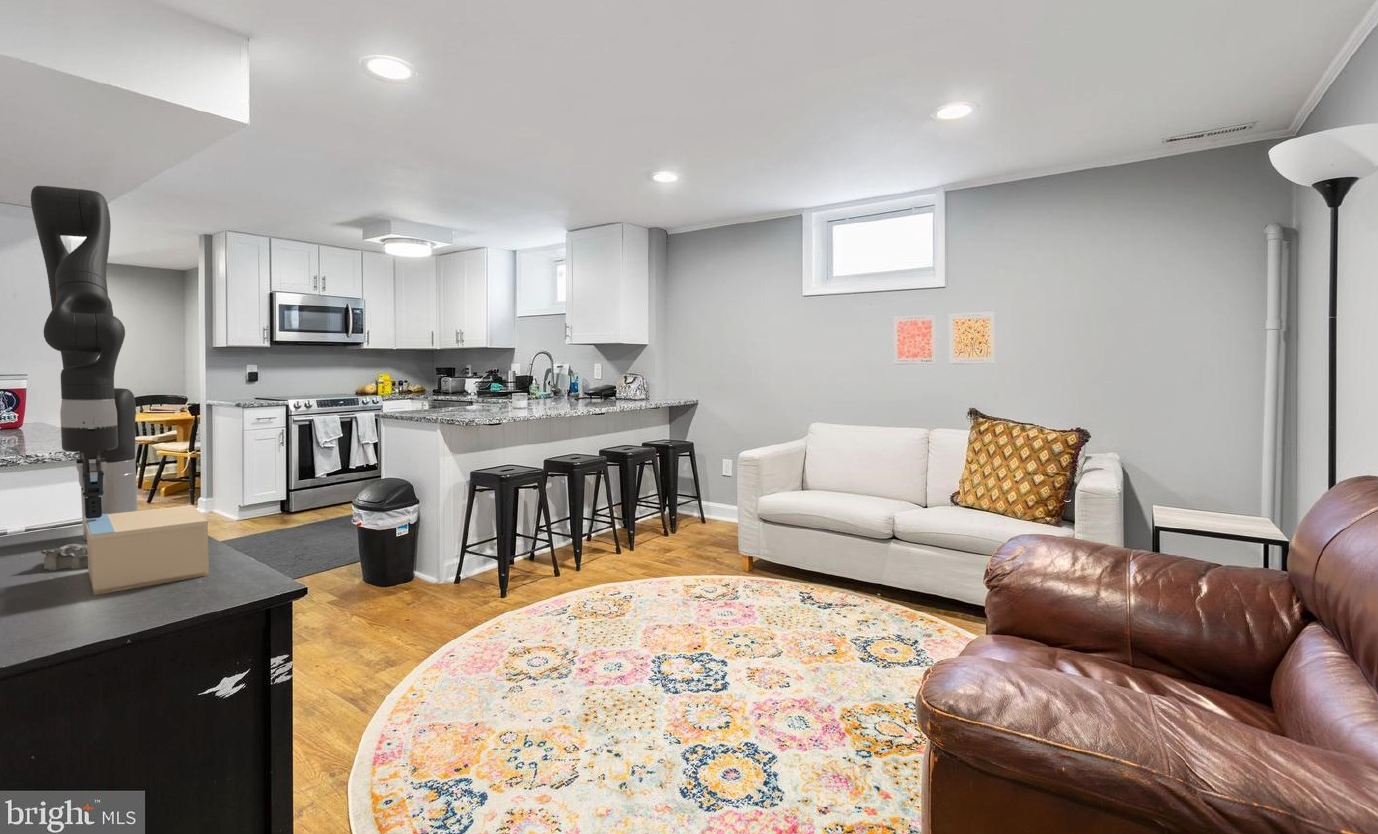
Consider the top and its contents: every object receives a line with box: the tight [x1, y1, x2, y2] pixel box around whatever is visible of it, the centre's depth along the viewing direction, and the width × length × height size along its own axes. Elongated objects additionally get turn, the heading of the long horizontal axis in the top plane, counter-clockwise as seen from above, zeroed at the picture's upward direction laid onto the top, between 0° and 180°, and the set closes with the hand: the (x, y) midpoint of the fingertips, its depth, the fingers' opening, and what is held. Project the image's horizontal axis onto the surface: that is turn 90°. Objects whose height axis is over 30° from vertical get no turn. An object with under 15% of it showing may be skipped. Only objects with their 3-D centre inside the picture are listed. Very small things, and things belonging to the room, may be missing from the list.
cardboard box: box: [86, 525, 210, 596], centre depth 121 cm, size 16×16×10 cm
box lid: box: [84, 504, 209, 540], centre depth 120 cm, size 16×16×1 cm
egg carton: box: [40, 543, 88, 571], centre depth 125 cm, size 11×8×4 cm
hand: (93, 517), depth 117 cm, fingers closed
